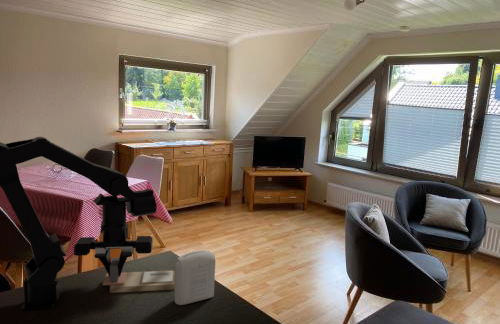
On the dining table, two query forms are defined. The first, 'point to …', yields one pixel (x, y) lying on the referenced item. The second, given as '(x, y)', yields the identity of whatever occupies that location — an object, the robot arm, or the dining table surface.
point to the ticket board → (146, 281)
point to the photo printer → (194, 277)
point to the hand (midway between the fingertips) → (115, 276)
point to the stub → (115, 274)
